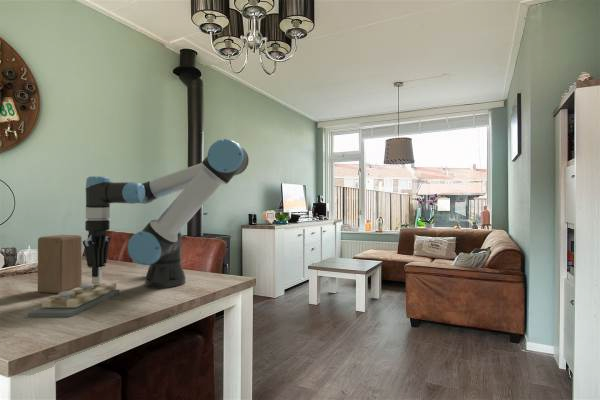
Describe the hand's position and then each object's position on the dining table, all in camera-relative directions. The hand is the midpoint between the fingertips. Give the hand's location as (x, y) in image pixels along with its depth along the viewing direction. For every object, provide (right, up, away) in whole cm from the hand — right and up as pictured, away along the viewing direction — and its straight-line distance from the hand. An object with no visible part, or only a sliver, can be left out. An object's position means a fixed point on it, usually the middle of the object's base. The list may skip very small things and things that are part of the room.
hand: (96, 285), depth 124 cm
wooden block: (-16, -3, +3) cm, 16 cm away
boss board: (+2, -3, -14) cm, 14 cm away
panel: (+2, -1, -12) cm, 12 cm away
